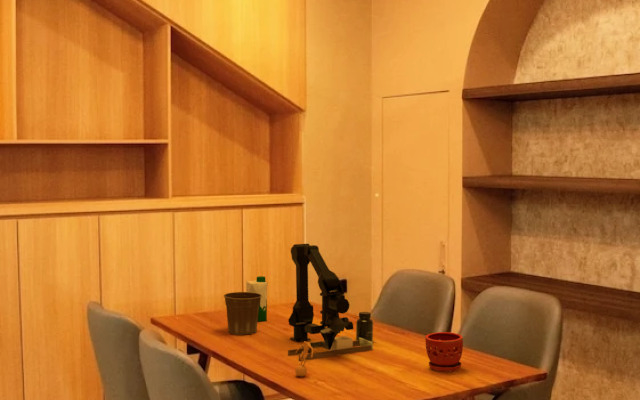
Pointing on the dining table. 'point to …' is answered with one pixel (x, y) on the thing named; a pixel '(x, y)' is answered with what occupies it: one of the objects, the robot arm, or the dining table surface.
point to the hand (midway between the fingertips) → (329, 349)
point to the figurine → (301, 368)
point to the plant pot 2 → (444, 351)
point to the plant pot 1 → (242, 312)
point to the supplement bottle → (364, 326)
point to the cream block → (342, 343)
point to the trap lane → (363, 343)
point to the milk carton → (261, 288)
